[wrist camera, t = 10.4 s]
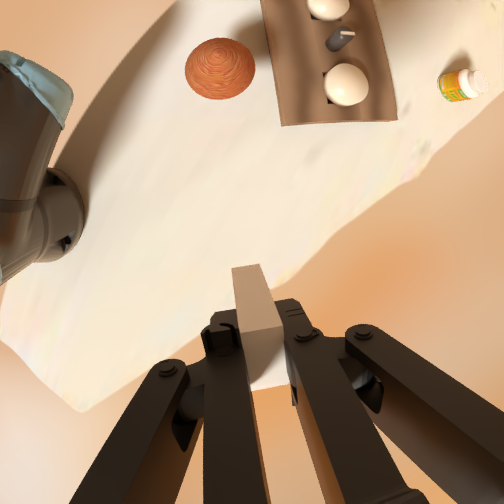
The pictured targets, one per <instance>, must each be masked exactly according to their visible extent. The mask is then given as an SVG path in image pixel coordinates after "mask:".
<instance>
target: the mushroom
mask: <svg viewBox="0 0 504 504" xmlns="http://www.w3.org/2000/svg"><path fill="white" fill-rule="evenodd" d="M254 74H255V62H254V58H253V56H252V54H251V53H250V51H249V50H248V49H247V48H246V47H245V46H244V45H242V44H241V43H239V42H237V41H235V40H232V39H228V38H214V39H210V40H207V41H205V42H203V43H202V44H200V45H199V46H197V47H196V48H195V49H194V50H193V51H192V53H191V54H190V55H189V57H188V59H187V62H186V65H185V76H186V79H187V82H188V84H189V85H190V87H191V88H192V89H193V90H194V91H195V92H196V93H198V94H199V95H201V96H203V97H206V98H209V99H215V100H223V99H228V98H232V97H234V96H236V95H238V94H240V93H241V92H243V91H244V90H245V89H246V88H247V87H248V86H249V85H250V83H251V82H252V80H253V77H254Z"/></svg>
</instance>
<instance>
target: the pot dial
mask: <svg viewBox="0 0 504 504" xmlns="http://www.w3.org/2000/svg"><path fill="white" fill-rule="evenodd" d="M354 35H355V32H352V30H351V29H350V28H348V27H346V26H341V27H339V28H338V29H337V30H336V31H335V32H334V33H333V34H332V35H331V36H330V37H329V38H328V39H327V40H326V42H325V45H326V47H327V49H328V50H330V51H332V52H337V51H339V50H340V49H341V48H343V47H344V46H345V45H346V44H347V43H349V42H350V41H351V40H352V39H353V37H354Z"/></svg>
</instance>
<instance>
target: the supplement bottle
mask: <svg viewBox="0 0 504 504" xmlns="http://www.w3.org/2000/svg"><path fill="white" fill-rule="evenodd" d="M437 86H438V90H439V93H440V94H441V96H442V97H443V98H444V99H445V100H447V101H449V102H454V101H462V100H468V99H475V98H477V97H479V95H480V94H482V93H486V92H487V91H488V82H487V79H486V77H485V75H484V74H483V73H482V72H481V71H479V70H476V71H471V70H469V69H463V70H459V71H455V72H452V73H448V74H444V75H441V76H440V77H439V78H438V81H437Z"/></svg>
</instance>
